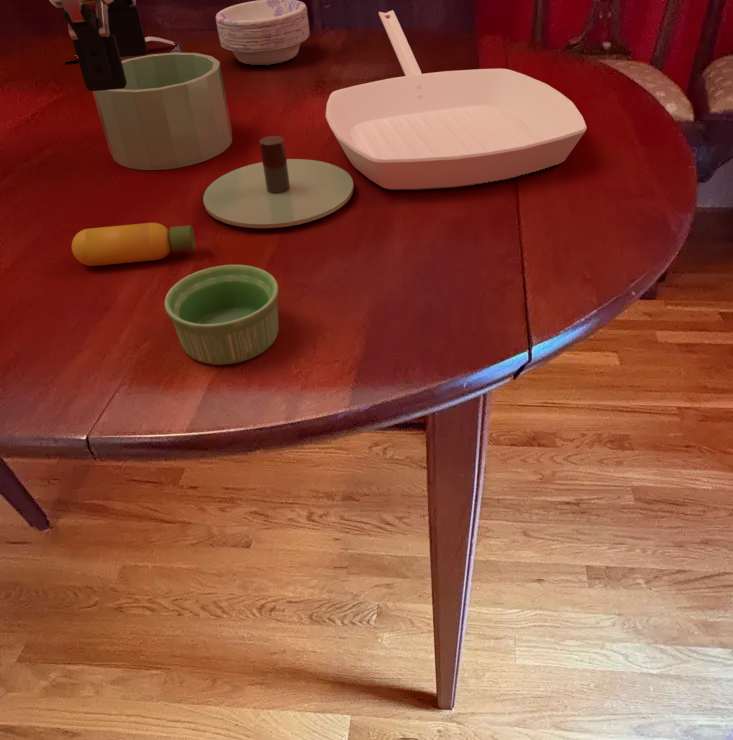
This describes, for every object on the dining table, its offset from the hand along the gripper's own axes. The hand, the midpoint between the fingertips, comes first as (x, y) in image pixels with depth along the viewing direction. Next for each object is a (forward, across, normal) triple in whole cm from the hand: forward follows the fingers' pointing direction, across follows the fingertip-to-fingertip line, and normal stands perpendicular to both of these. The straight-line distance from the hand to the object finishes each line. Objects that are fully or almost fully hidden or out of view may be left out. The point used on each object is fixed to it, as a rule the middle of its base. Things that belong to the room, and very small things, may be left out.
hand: (119, 71), depth 63 cm
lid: (+16, -9, +11) cm, 22 cm away
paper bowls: (+17, -65, +8) cm, 67 cm away
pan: (+17, -28, +31) cm, 45 cm away
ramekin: (+17, +17, +8) cm, 26 cm away
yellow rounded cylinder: (+17, +3, -3) cm, 18 cm away
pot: (+17, -28, -3) cm, 32 cm away
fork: (+17, -75, -19) cm, 79 cm away
